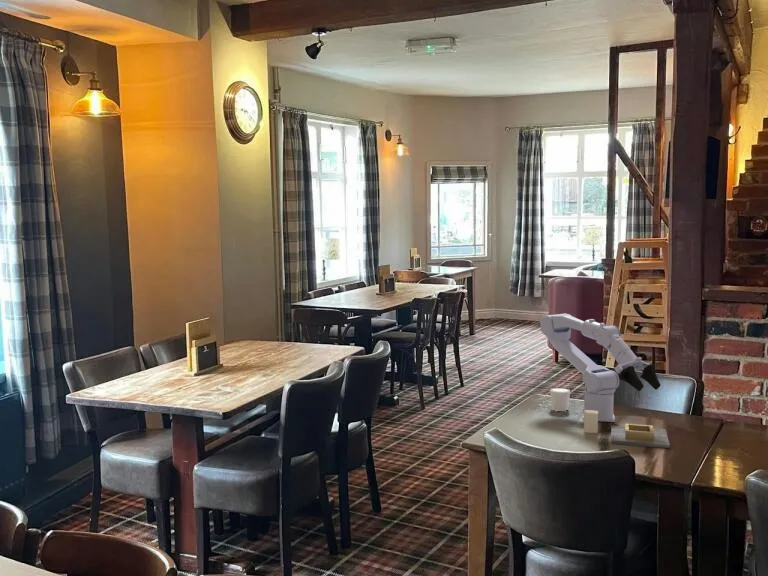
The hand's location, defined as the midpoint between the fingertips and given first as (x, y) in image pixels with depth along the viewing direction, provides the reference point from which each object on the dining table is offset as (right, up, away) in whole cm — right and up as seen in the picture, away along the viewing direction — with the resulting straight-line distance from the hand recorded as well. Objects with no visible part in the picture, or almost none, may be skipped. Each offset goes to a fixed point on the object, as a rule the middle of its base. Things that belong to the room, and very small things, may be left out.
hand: (649, 388), depth 219 cm
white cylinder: (-20, -12, +31) cm, 38 cm away
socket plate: (-4, -15, -2) cm, 15 cm away
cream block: (-16, -14, +6) cm, 22 cm away
